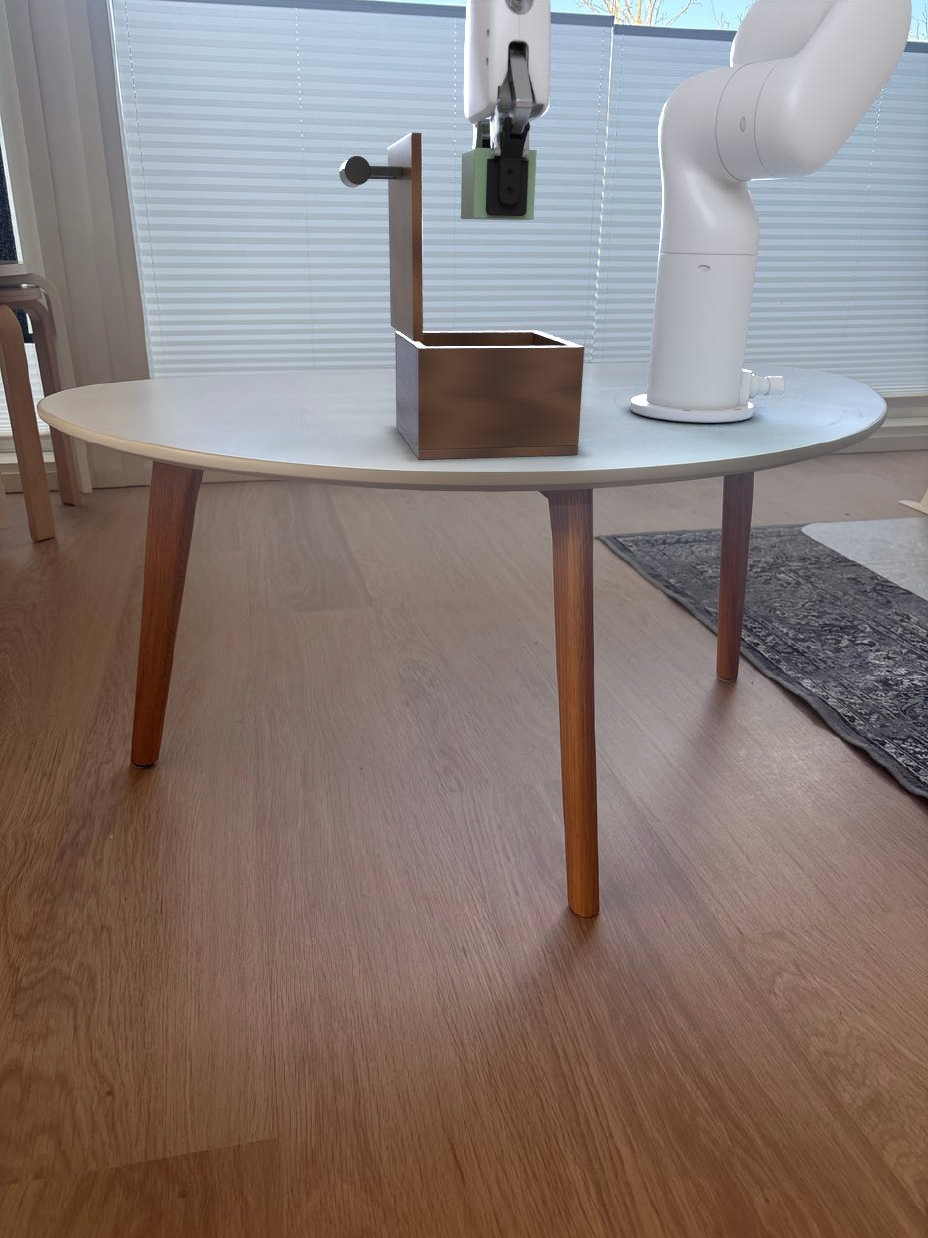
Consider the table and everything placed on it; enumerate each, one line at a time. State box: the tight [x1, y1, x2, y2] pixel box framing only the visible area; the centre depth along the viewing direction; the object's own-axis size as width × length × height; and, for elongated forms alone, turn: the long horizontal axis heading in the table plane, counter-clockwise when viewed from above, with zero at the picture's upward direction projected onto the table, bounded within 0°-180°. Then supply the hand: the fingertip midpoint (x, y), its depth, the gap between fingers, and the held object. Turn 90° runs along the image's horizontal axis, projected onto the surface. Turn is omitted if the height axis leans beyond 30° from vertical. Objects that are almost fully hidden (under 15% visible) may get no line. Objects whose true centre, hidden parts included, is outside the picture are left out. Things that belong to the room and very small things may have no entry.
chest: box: [394, 330, 585, 461], centre depth 82 cm, size 14×14×9 cm
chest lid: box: [338, 131, 424, 342], centre depth 75 cm, size 14×14×5 cm
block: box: [460, 147, 538, 221], centre depth 75 cm, size 5×5×5 cm
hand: (497, 213), depth 76 cm, fingers closed on block, 5 cm apart
